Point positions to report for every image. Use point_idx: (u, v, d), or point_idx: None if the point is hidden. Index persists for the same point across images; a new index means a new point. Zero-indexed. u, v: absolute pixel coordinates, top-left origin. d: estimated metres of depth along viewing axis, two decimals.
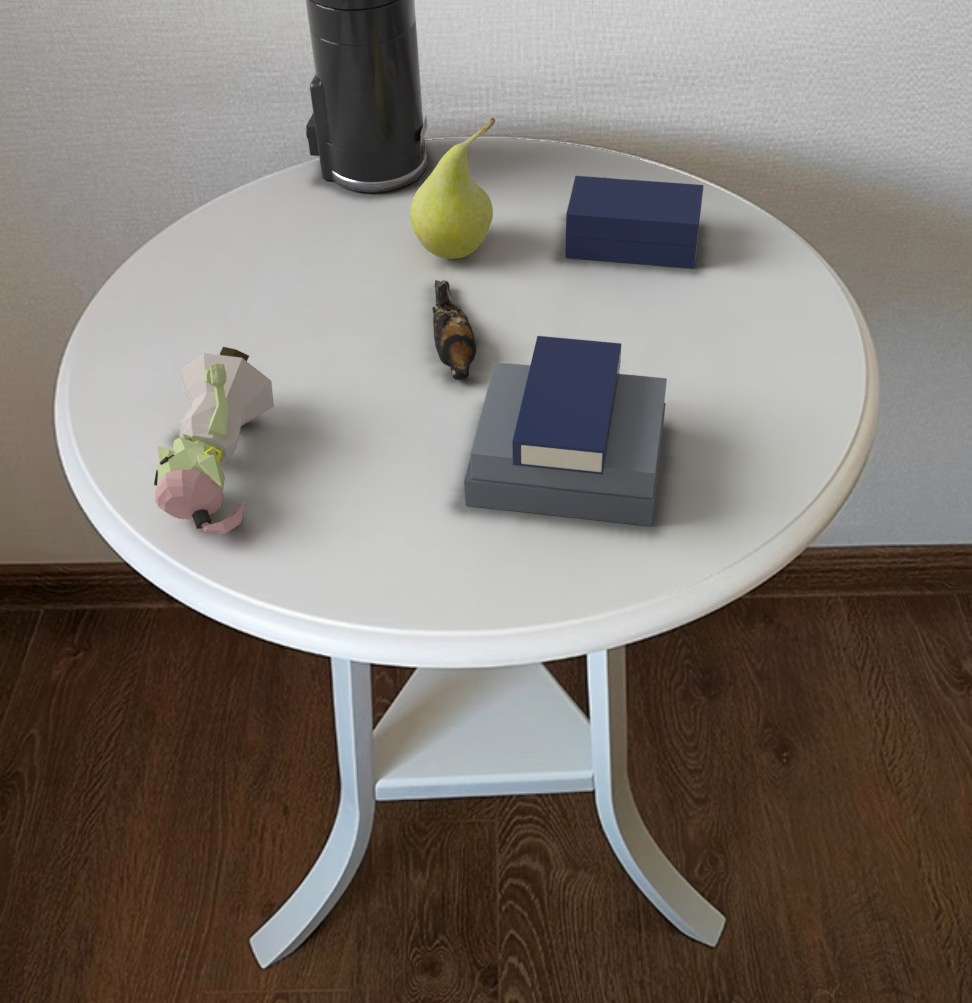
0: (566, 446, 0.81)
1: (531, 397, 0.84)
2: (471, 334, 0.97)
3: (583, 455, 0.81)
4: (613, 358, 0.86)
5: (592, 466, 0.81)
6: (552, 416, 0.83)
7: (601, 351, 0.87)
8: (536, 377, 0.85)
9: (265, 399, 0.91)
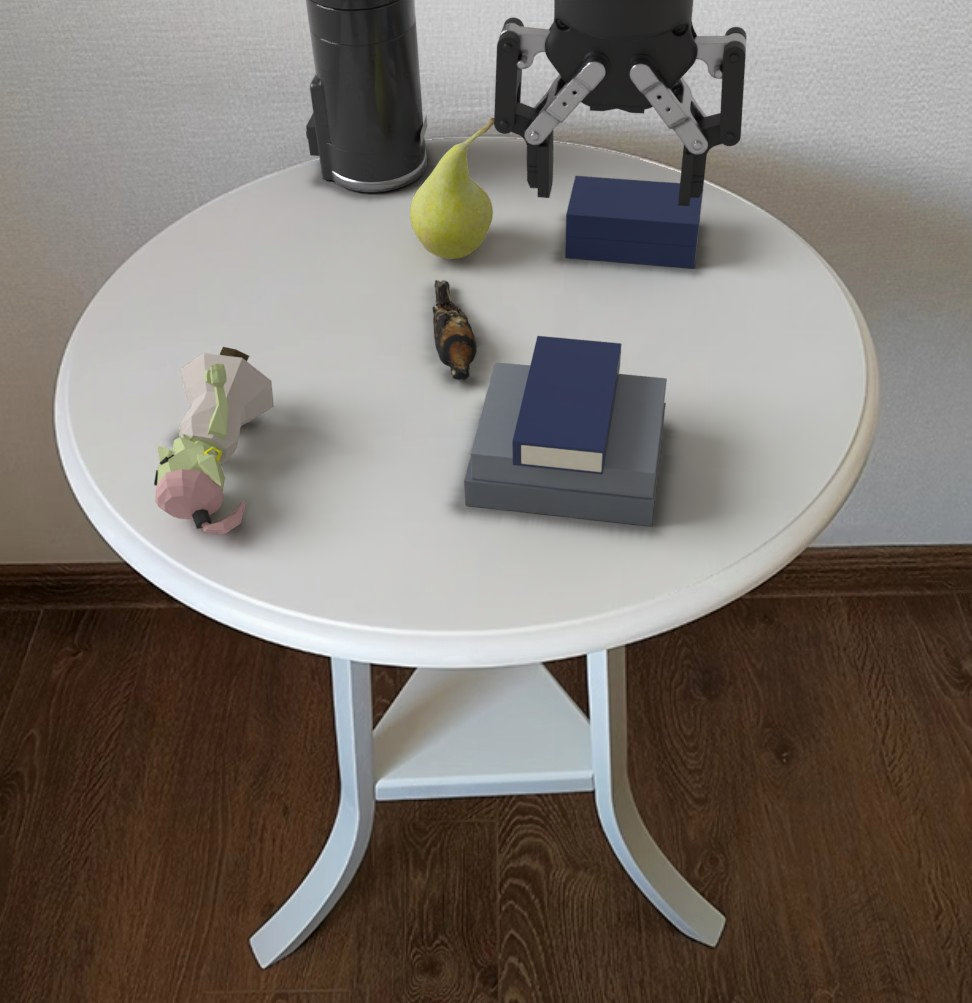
0: (566, 446, 0.81)
1: (531, 397, 0.84)
2: (471, 334, 0.97)
3: (583, 455, 0.81)
4: (613, 358, 0.86)
5: (592, 466, 0.81)
6: (552, 416, 0.83)
7: (601, 351, 0.87)
8: (536, 377, 0.85)
9: (265, 399, 0.91)
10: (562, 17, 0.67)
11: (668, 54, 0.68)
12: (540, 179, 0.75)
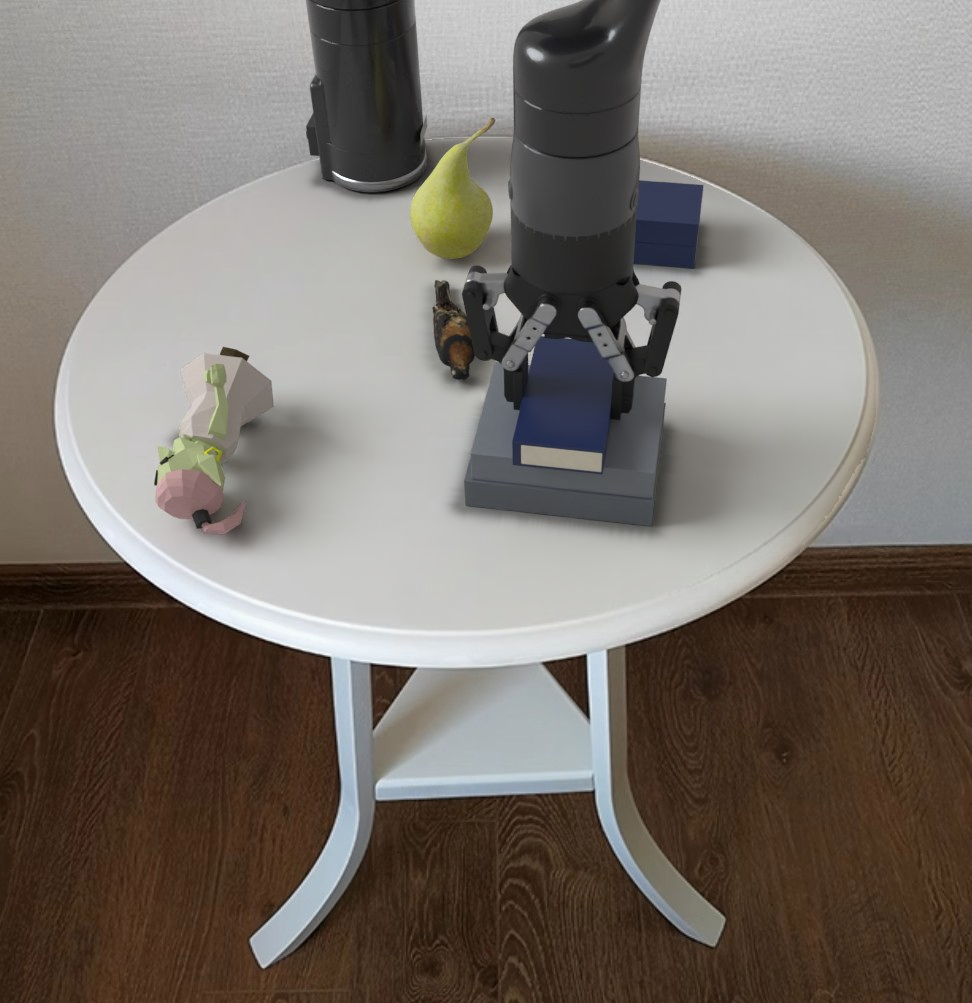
0: (566, 446, 0.81)
1: (531, 397, 0.84)
2: None
3: (583, 455, 0.81)
4: None
5: (592, 466, 0.81)
6: (552, 416, 0.83)
7: None
8: (536, 377, 0.85)
9: (265, 399, 0.91)
10: (517, 270, 0.75)
11: (612, 298, 0.77)
12: (516, 396, 0.84)
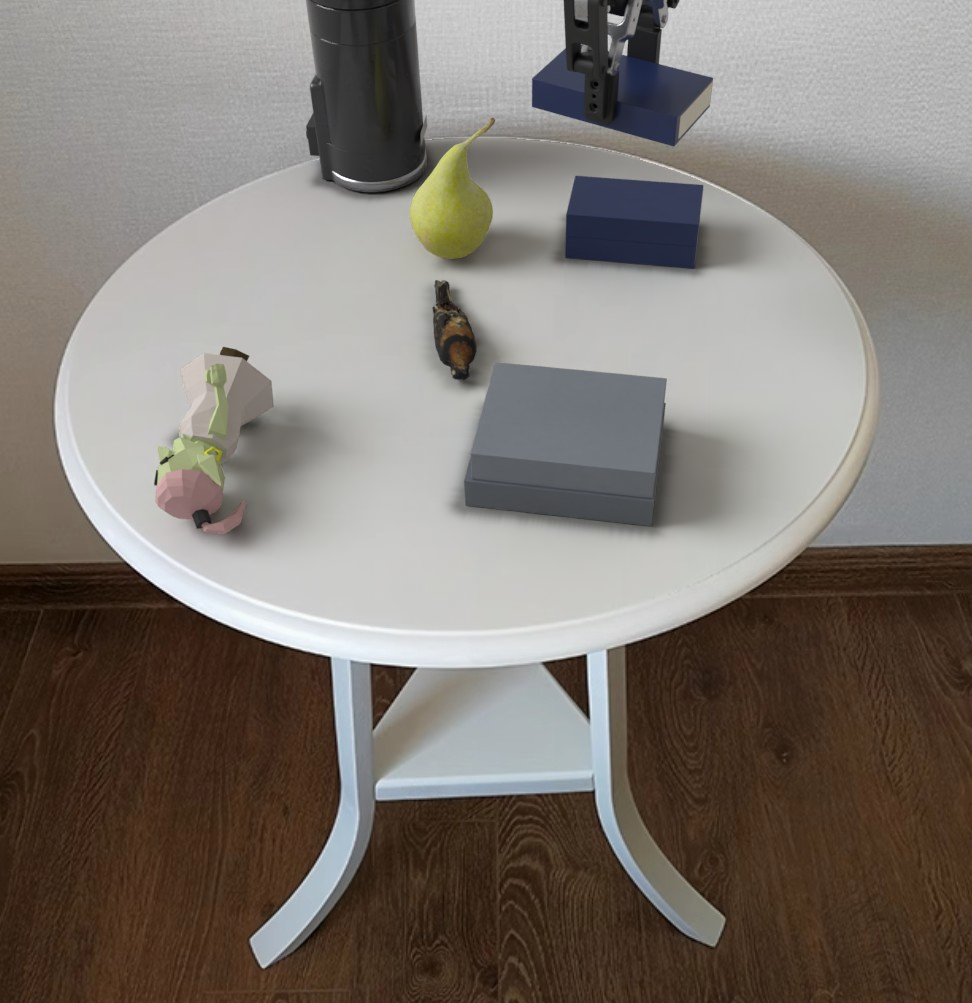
0: (698, 93, 0.84)
1: (621, 97, 0.84)
2: (471, 334, 0.97)
3: (705, 93, 0.85)
4: None
5: (707, 102, 0.87)
6: (653, 92, 0.85)
7: None
8: None
9: (265, 399, 0.91)
10: None
11: None
12: (614, 105, 0.84)
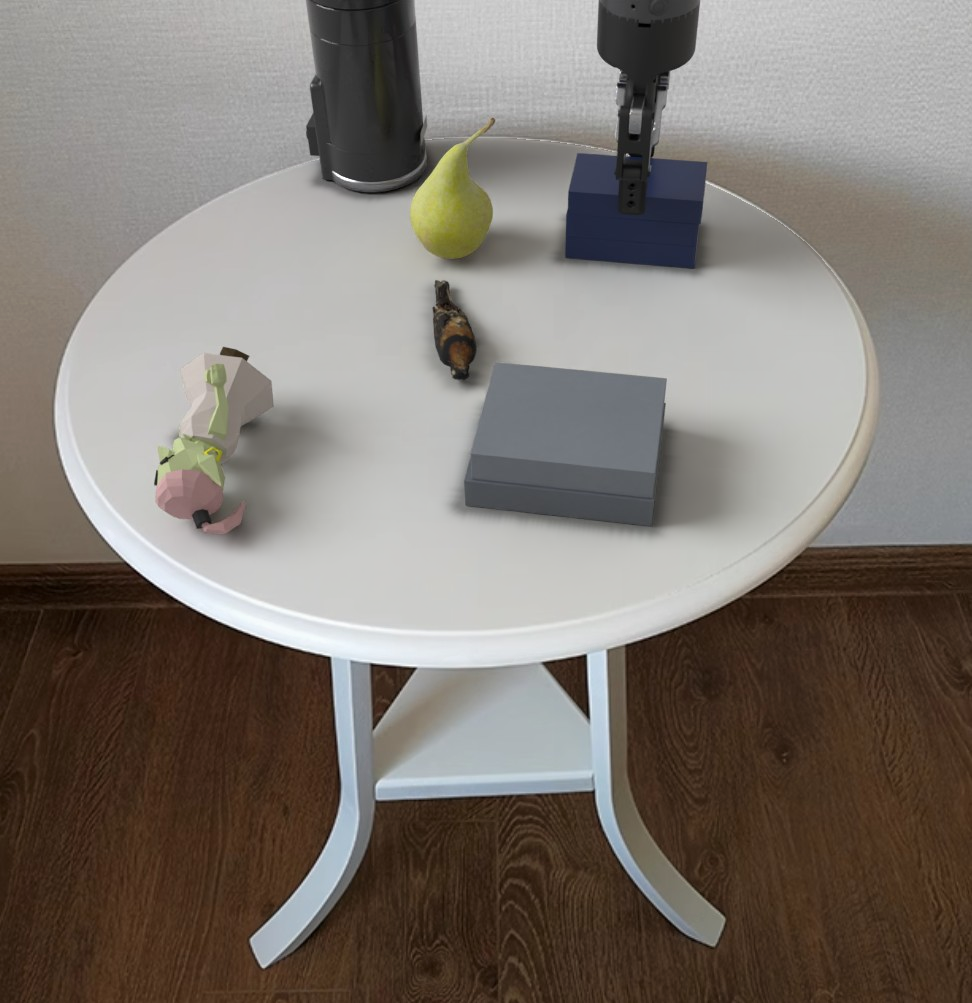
0: (705, 177, 1.03)
1: (649, 193, 1.02)
2: (471, 334, 0.97)
3: None
4: (597, 156, 1.06)
5: None
6: (670, 183, 1.02)
7: (588, 161, 1.05)
8: None
9: (265, 399, 0.91)
10: (671, 66, 0.93)
11: None
12: (645, 198, 1.00)
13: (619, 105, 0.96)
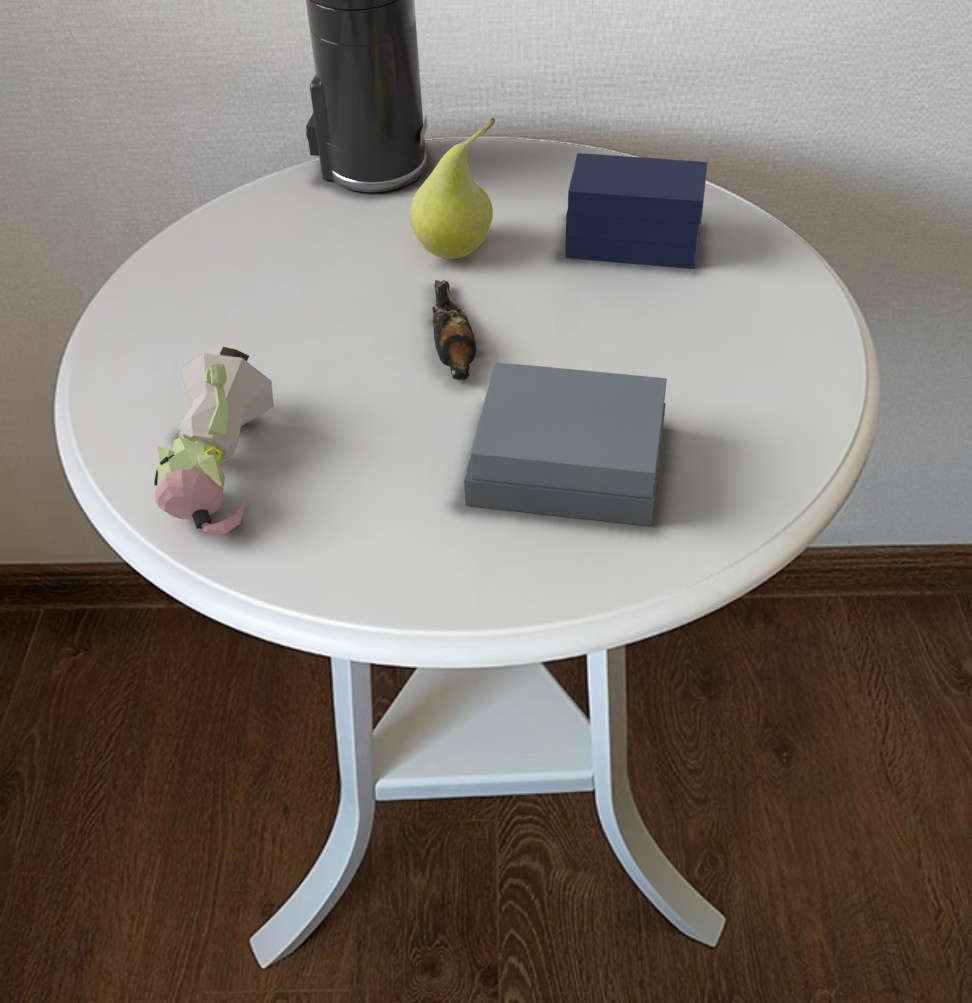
0: (705, 177, 1.03)
1: (649, 193, 1.02)
2: (471, 334, 0.97)
3: None
4: (597, 156, 1.06)
5: None
6: (670, 183, 1.02)
7: (588, 161, 1.05)
8: (624, 191, 1.02)
9: (265, 399, 0.91)
10: None
11: None
12: None
13: None
